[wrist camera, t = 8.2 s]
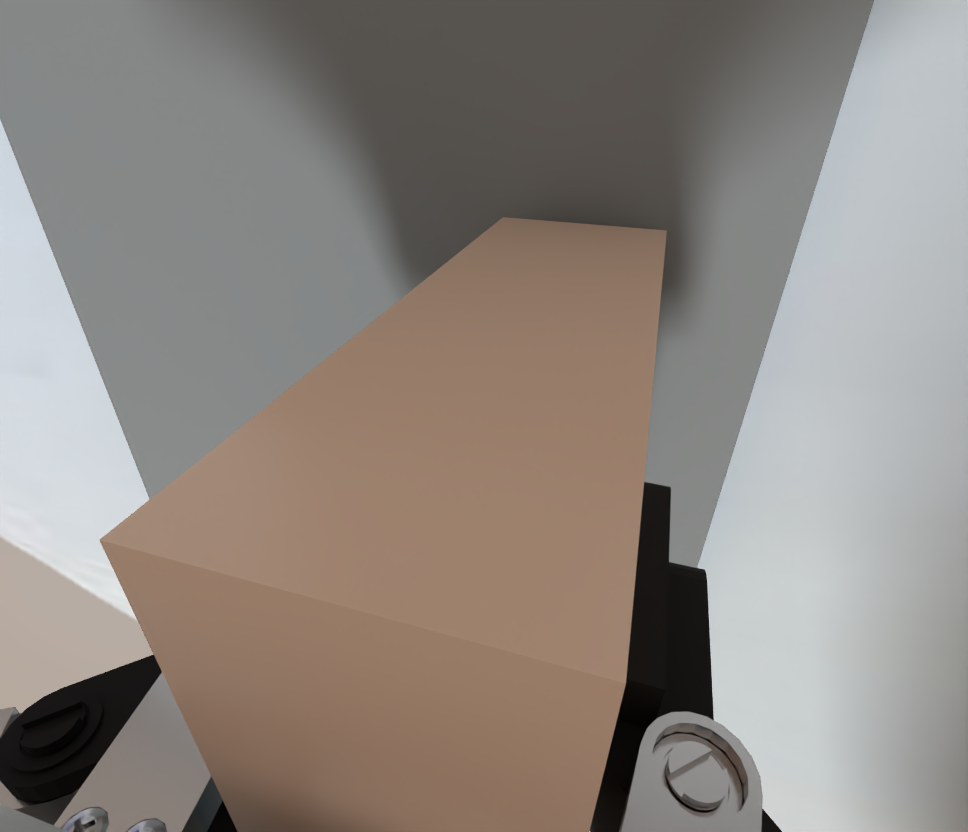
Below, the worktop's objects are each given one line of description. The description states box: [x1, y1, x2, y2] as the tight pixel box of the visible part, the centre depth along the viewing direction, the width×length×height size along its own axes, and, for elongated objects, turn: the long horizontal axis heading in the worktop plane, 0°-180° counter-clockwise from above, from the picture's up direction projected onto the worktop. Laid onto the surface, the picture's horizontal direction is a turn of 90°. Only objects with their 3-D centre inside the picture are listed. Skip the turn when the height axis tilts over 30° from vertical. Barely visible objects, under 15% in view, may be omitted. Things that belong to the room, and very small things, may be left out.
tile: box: [100, 217, 667, 832], centre depth 9 cm, size 10×3×9 cm, turn 179°
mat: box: [0, 0, 874, 568], centre depth 15 cm, size 22×18×1 cm
